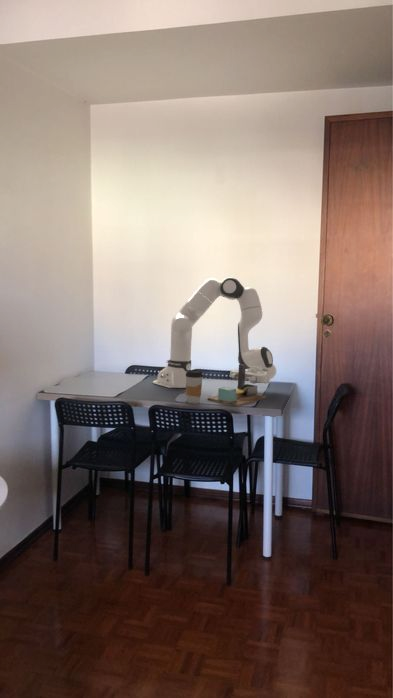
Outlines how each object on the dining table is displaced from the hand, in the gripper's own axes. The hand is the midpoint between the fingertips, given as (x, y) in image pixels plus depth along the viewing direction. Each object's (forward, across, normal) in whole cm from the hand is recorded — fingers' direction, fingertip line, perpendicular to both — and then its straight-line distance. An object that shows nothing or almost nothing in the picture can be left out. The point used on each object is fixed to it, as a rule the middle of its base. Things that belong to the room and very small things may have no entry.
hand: (240, 377), depth 292 cm
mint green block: (+11, 0, +10) cm, 15 cm away
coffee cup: (+24, -11, +11) cm, 28 cm away
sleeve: (-7, 0, +10) cm, 12 cm away
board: (+2, 0, +10) cm, 11 cm away
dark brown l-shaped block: (-2, 0, +8) cm, 9 cm away
